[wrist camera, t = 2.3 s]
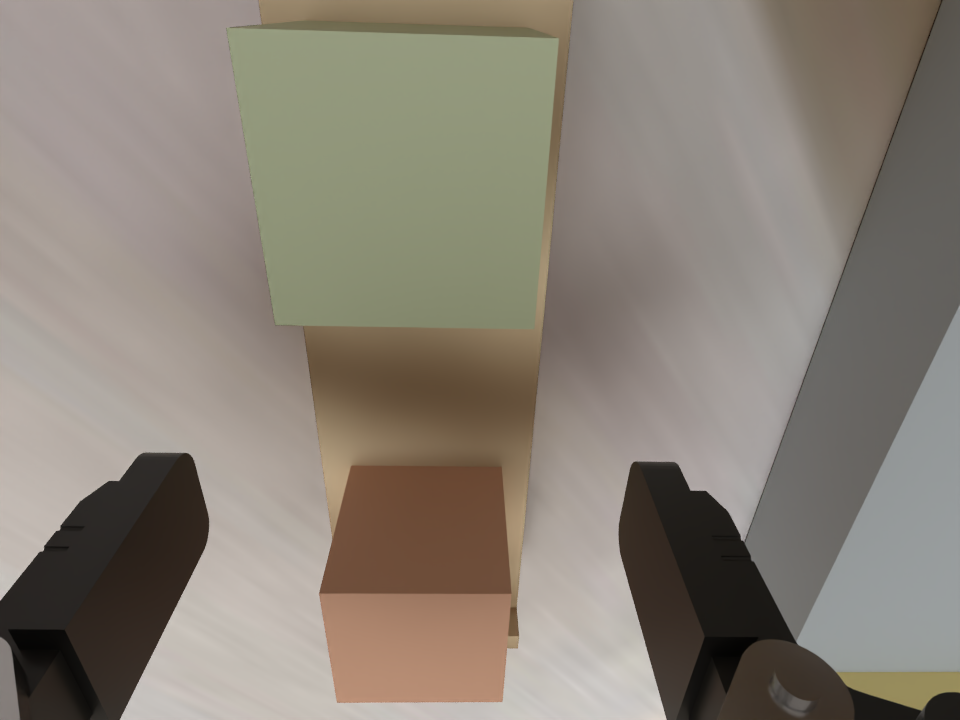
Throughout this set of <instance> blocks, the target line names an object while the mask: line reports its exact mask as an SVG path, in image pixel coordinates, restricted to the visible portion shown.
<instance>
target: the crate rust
mask: <svg viewBox="0 0 960 720" xmlns="http://www.w3.org/2000/svg"><path fill="white" fill-rule="evenodd" d="M511 595H512V592H511V579H510V567H509V554H508V541H507V528H506V515H505V502H504V489H503V477H502V467H463V466H351V467H350V471H349V475H348V479H347V484H346V488H345V492H344V496H343V500H342V504H341V508H340V512H339V516H338V520H337V524H336V528H335V532H334V536H333V540H332V544H331V548H330V552H329V556H328V560H327V564H326V568H325V572H324V576H323V580H322V584H321V588H320V592H319V596H320V602H321V608H322V614H323V620H324V626H325V632H326V638H327V644H328V650H329V656H330V662H331V668H332V675H333V681H334V687H335V693H336V699H337V703H359V702H502V700H503V689H504V677H505V665H506V654H507V642H508V630H509V619H510V607H511Z"/></svg>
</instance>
